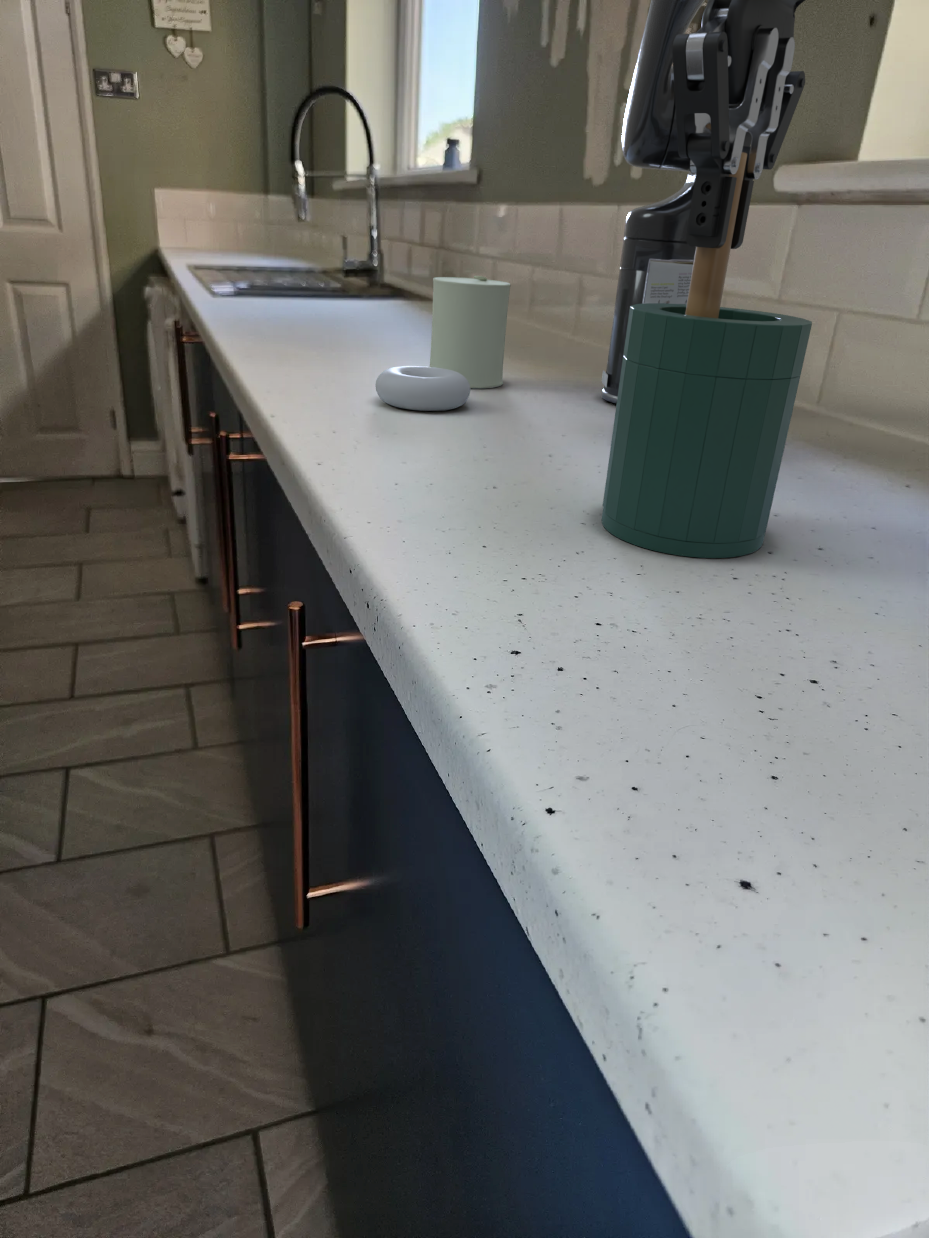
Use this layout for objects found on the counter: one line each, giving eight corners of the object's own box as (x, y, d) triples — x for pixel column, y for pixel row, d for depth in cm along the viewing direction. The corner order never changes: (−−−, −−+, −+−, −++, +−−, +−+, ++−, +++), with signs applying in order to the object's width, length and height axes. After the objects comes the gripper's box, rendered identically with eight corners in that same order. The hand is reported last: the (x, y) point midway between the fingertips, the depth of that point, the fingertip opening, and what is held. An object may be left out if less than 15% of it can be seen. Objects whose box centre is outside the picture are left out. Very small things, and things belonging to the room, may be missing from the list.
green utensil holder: (646, 496, 66) (677, 301, 60) (786, 532, 60) (835, 320, 54) (571, 526, 58) (598, 306, 52) (723, 571, 52) (773, 329, 46)
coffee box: (692, 453, 80) (725, 264, 73) (621, 445, 81) (648, 258, 74) (688, 432, 88) (718, 260, 81) (624, 425, 89) (649, 255, 82)
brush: (655, 476, 61) (706, 156, 53) (722, 492, 59) (787, 157, 50) (620, 489, 58) (670, 147, 49) (690, 506, 55) (755, 148, 47)
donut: (434, 420, 86) (487, 404, 94) (436, 384, 85) (489, 372, 92) (355, 404, 91) (411, 390, 98) (355, 370, 89) (412, 359, 97)
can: (512, 381, 109) (521, 278, 104) (488, 392, 101) (496, 281, 96) (444, 372, 112) (450, 271, 107) (415, 382, 104) (420, 274, 99)
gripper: (755, -71, 52) (702, 245, 59) (647, -154, 42) (600, 240, 49) (887, -88, 48) (813, 254, 55) (803, -185, 37) (726, 250, 45)
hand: (713, 246), depth 52 cm, fingers closed on brush
